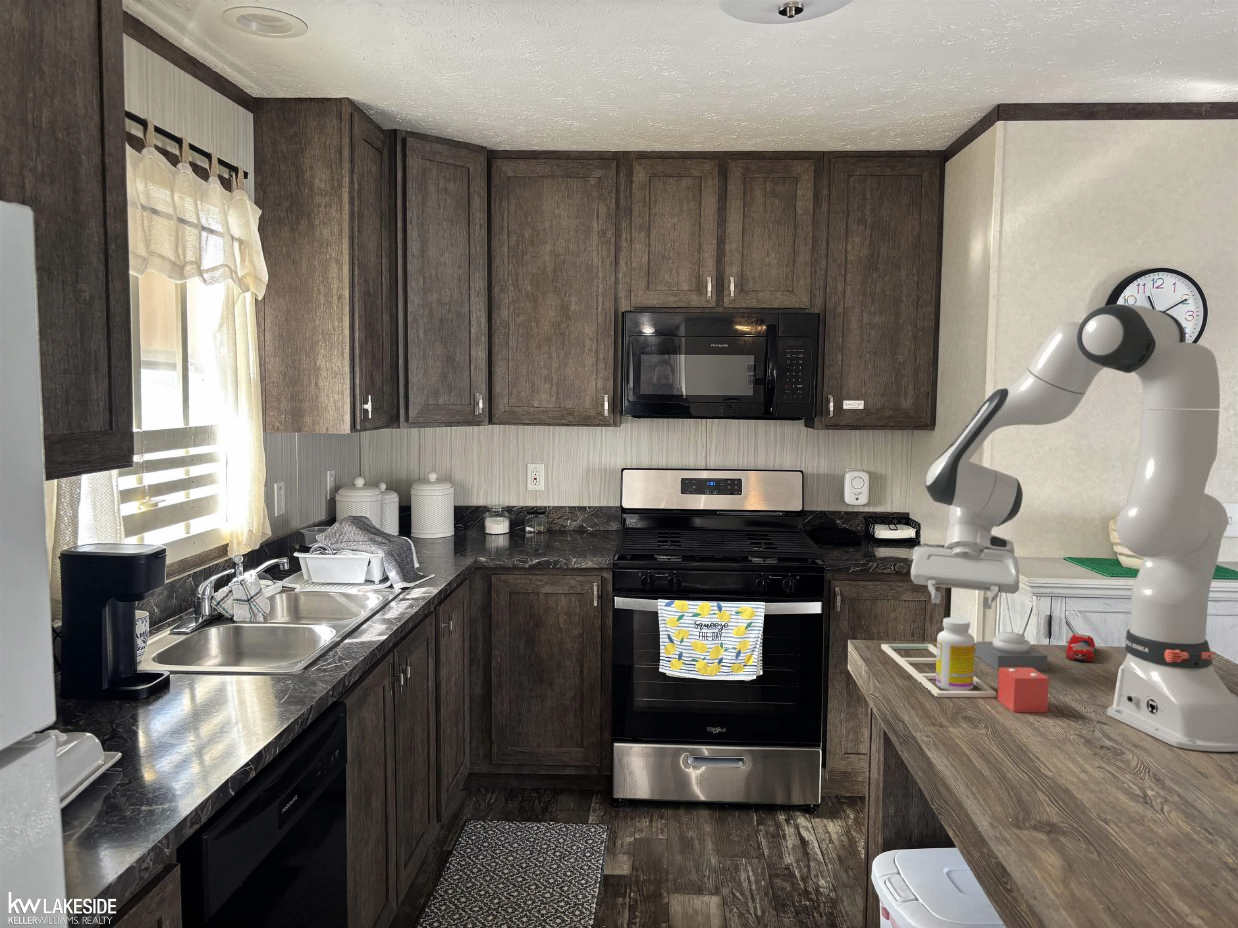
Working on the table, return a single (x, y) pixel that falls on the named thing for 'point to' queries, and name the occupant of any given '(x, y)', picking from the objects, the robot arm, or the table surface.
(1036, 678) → the die
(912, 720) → the table surface
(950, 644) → the supplement bottle
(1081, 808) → the table surface
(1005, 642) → the dome
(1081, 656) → the race car
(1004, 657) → the dome base
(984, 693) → the track
